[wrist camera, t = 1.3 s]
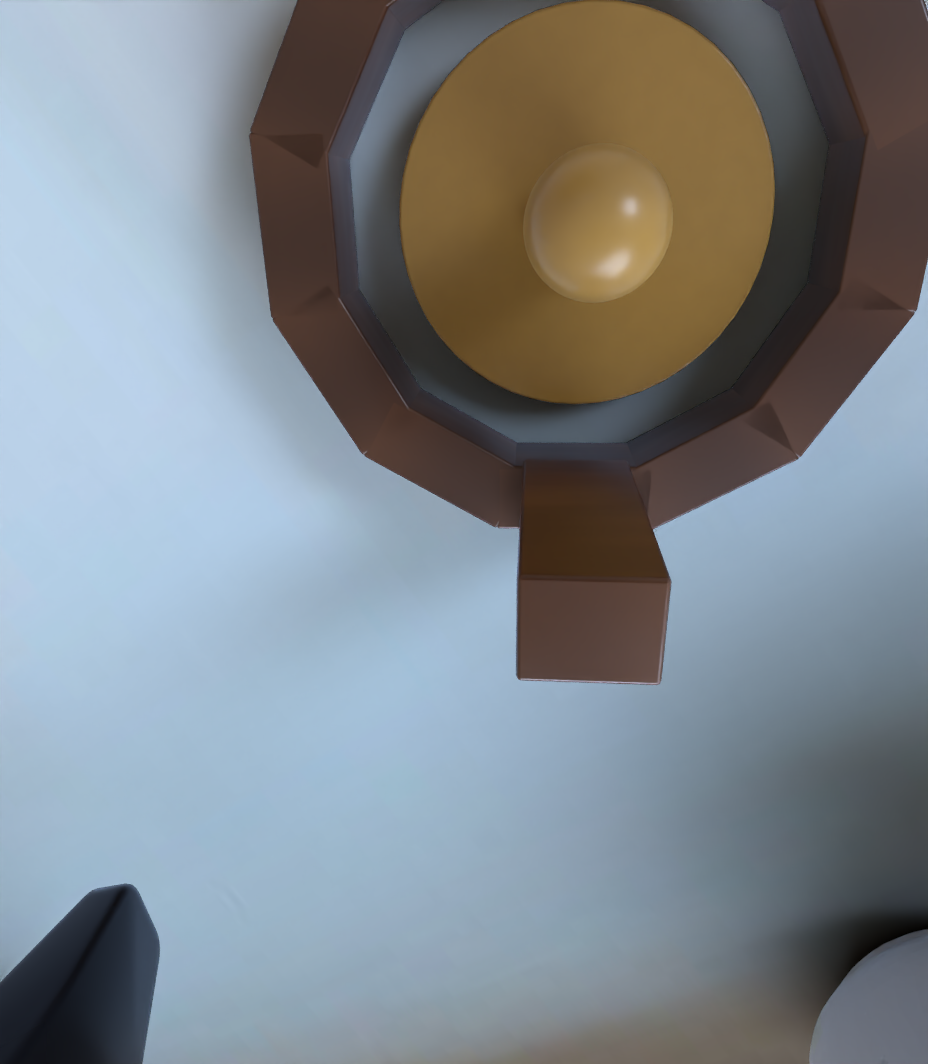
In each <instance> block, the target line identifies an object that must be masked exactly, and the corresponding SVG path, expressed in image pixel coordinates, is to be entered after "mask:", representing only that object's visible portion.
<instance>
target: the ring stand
mask: <svg viewBox="0 0 928 1064" xmlns="http://www.w3.org/2000/svg"><path fill="white" fill-rule="evenodd" d="M774 200H775V178H774V162H773V157H772V151H771V146H770V141H769V136H768V133H767V130H766V127H765V124H764V121H763V118H762V114H761V111H760V109H759V107H758V105H757V103H756V101H755V99H754V97H753V95H752V93H751V91H750V89H749V87H748V85H747V84H746V82H745V81H744V79H743V78H742V76H741V75H740V73H739V72H738V70H737V69H736V68H735V66H734V65H733V63H732V62H731V61H730V60H729V59H728V58H727V57H726V56H725V55H724V54H723V53H722V51H721V50H720V49H719V48H718V47H717V46H716V45H715V44H714V43H713V42H711V41H710V40H709V39H708V38H706V37H705V36H704V35H703V34H701V33H700V32H699V31H697V30H696V29H695V28H694V27H692V26H690V25H688V24H687V23H685V22H683V21H681V20H679V19H678V18H676V17H674V16H672V15H670V14H668V13H665V12H663V11H660V10H657V9H654V8H651V7H649V6H646V5H642V4H637V3H632V2H626V1H621V0H579V1H572V2H564V3H560V4H557V5H553V6H550V7H546V8H542V9H539V10H536V11H534V12H532V13H529V14H527V15H525V16H523V17H521V18H518V19H516V20H514V21H512V22H510V23H509V24H507V25H505V26H504V27H502V28H501V29H499V30H497V31H496V32H494V33H493V34H491V35H490V36H488V37H487V38H486V39H484V40H483V41H482V42H481V43H480V44H479V45H477V46H476V47H475V48H474V49H473V50H471V51H470V52H469V53H468V54H467V55H466V56H465V57H464V58H463V59H462V60H461V61H460V62H459V64H458V65H457V66H456V67H455V68H454V69H453V70H452V71H451V72H450V73H449V74H448V76H447V77H446V79H445V80H444V81H443V83H442V84H441V86H440V87H439V89H438V90H437V91H436V93H435V94H434V96H433V97H432V99H431V101H430V103H429V104H428V106H427V108H426V110H425V112H424V114H423V116H422V118H421V120H420V121H419V124H418V126H417V129H416V132H415V134H414V137H413V139H412V142H411V145H410V147H409V151H408V155H407V159H406V163H405V167H404V171H403V176H402V184H401V192H400V199H399V229H400V238H401V246H402V253H403V257H404V262H405V266H406V270H407V274H408V277H409V280H410V283H411V286H412V288H413V291H414V294H415V296H416V299H417V301H418V303H419V305H420V307H421V309H422V310H423V312H424V314H425V316H426V318H427V320H428V321H429V323H430V324H431V326H432V327H433V329H434V330H435V332H436V333H437V334H438V336H439V337H440V339H441V340H442V341H443V342H444V343H445V344H446V345H447V347H448V348H449V349H450V350H451V351H452V352H453V353H454V354H455V355H456V356H457V357H458V358H459V359H460V360H461V361H462V362H464V363H465V364H466V365H467V366H468V367H469V368H471V369H472V370H473V371H475V372H476V373H478V374H479V375H481V376H482V377H484V378H485V379H487V380H488V381H490V382H491V383H493V384H495V385H498V386H500V387H502V388H504V389H506V390H508V391H510V392H512V393H515V394H518V395H521V396H524V397H527V398H530V399H535V400H540V401H545V402H550V403H560V404H590V403H600V402H605V401H610V400H616V399H620V398H623V397H626V396H629V395H633V394H636V393H639V392H642V391H644V390H646V389H648V388H650V387H652V386H654V385H657V384H659V383H661V382H663V381H665V380H666V379H668V378H669V377H671V376H673V375H674V374H676V373H677V372H679V371H681V370H682V369H684V368H685V367H686V366H687V365H689V364H690V363H691V362H692V361H694V360H695V359H696V358H697V357H699V356H700V355H701V354H702V353H703V352H704V351H705V350H706V349H707V348H708V347H709V346H710V345H711V344H712V343H713V342H714V341H715V340H716V339H717V338H718V337H719V336H720V335H721V334H722V332H723V331H724V330H725V328H726V327H727V326H728V325H729V323H730V322H731V321H732V320H733V318H734V317H735V316H736V314H737V312H738V311H739V309H740V307H741V306H742V304H743V302H744V301H745V299H746V298H747V296H748V294H749V292H750V290H751V288H752V286H753V283H754V281H755V279H756V277H757V275H758V273H759V270H760V268H761V264H762V261H763V258H764V255H765V252H766V249H767V246H768V242H769V237H770V232H771V227H772V221H773V214H774Z"/></svg>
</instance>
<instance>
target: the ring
mask: <svg viewBox="0 0 928 1064" xmlns="http://www.w3.org/2000/svg"><path fill="white" fill-rule="evenodd" d="M442 1H443V0H297V3H296V6H295V8H294V11H293V14H292V17H291V19H290V22H289V25H288V27H287V30H286V33H285V36H284V38H283V41H282V44H281V47H280V49H279V52H278V55H277V58H276V60H275V63H274V66H273V68H272V71H271V74H270V77H269V79H268V82H267V85H266V88H265V90H264V93H263V96H262V99H261V101H260V104H259V107H258V109H257V112H256V115H255V118H254V120H253V123H252V126H251V129H250V132H251V133H250V134H249V139H250V147H251V155H252V163H253V172H254V180H255V188H256V196H257V204H258V213H259V221H260V229H261V237H262V245H263V254H264V262H265V270H266V278H267V287H268V295H269V303H270V311H271V317H272V318H273V322H274V323H275V325H276V326H277V328H278V329H279V331H280V332H281V333H282V335H283V336H284V338H285V339H286V341H287V342H288V344H289V345H290V347H291V348H292V350H293V351H294V353H295V354H296V356H297V357H298V359H299V360H300V362H301V363H302V365H303V366H304V368H305V369H306V371H307V372H308V374H309V375H310V377H311V378H312V380H313V381H314V383H315V384H316V386H317V387H318V389H319V390H320V392H321V393H322V395H323V396H324V398H325V399H326V401H327V402H328V404H329V405H330V407H331V408H332V410H333V411H334V413H335V414H336V416H337V417H338V419H339V420H340V422H341V423H342V425H343V426H344V428H345V429H346V431H347V432H348V434H349V435H350V437H351V438H352V440H353V441H354V443H355V444H356V446H357V447H358V449H359V450H360V452H361V453H362V454H364V456H366V457H367V458H369V459H371V460H373V461H374V462H376V463H378V464H380V465H382V466H384V467H385V468H387V469H389V470H391V471H393V472H395V473H396V474H398V475H400V476H402V477H404V478H406V479H407V480H409V481H411V482H413V483H415V484H417V485H418V486H420V487H422V488H424V489H426V490H428V491H429V492H431V493H433V494H435V495H437V496H439V497H440V498H442V499H444V500H446V501H448V502H450V503H451V504H453V505H455V506H457V507H459V508H461V509H462V510H464V511H466V512H468V513H470V514H472V515H473V516H475V517H477V518H479V519H481V520H483V521H484V522H486V523H488V524H490V525H492V526H494V527H498V528H520V529H519V548H518V566H517V627H516V676H517V678H518V679H519V680H529V681H558V682H587V683H617V684H646V685H658V684H660V682H661V679H662V669H663V660H664V650H665V640H666V630H667V620H668V610H669V601H670V591H671V579H670V576H669V573H668V571H667V568H666V565H665V562H664V560H663V557H662V554H661V551H660V549H659V546H658V543H657V540H656V538H655V535H654V532H653V529H654V528H657V527H659V526H661V525H663V524H665V523H667V522H669V521H671V520H673V519H675V518H677V517H679V516H681V515H683V514H686V513H688V512H690V511H692V510H694V509H696V508H698V507H700V506H702V505H704V504H706V503H708V502H710V501H712V500H715V499H717V498H719V497H721V496H723V495H725V494H727V493H729V492H731V491H733V490H735V489H737V488H739V487H741V486H744V485H746V484H748V483H750V482H752V481H754V480H756V479H758V478H760V477H762V476H764V475H766V474H768V473H770V472H773V471H775V470H777V469H779V468H781V467H783V466H785V465H787V464H789V463H791V462H793V461H795V460H797V459H798V457H801V456H802V454H803V453H804V452H805V451H806V449H807V448H808V447H809V446H810V444H811V443H812V442H813V441H814V439H815V438H816V437H817V436H818V434H819V433H820V432H821V431H822V429H823V428H824V427H825V425H826V424H827V423H828V422H829V420H830V419H831V418H832V417H833V415H834V414H835V413H836V412H837V410H838V409H839V408H840V407H841V405H842V404H843V403H844V402H845V400H846V399H847V398H848V397H849V395H850V394H851V393H852V392H853V390H854V389H855V388H856V387H857V385H858V384H859V383H860V382H861V380H862V379H863V378H864V377H865V375H866V374H867V373H868V371H869V370H870V369H871V368H872V366H873V365H874V364H875V363H876V361H877V360H878V359H879V358H880V356H881V355H882V354H883V353H884V351H885V350H886V349H887V348H888V346H889V345H890V344H891V343H892V341H893V340H894V339H895V338H896V336H897V335H898V334H899V333H900V331H901V330H902V329H903V328H904V326H905V325H906V324H907V323H908V321H909V320H910V319H911V317H912V316H913V315H914V313H915V312H914V311H916V310H917V306H918V302H919V297H920V293H921V288H922V283H923V279H924V274H925V269H926V265H927V260H928V11H927V8H926V5H925V2H924V0H762V1H763V2H765V3H766V4H768V5H769V6H771V7H772V8H774V9H775V10H777V11H778V12H779V14H780V16H781V19H782V21H783V24H784V27H785V29H786V32H787V35H788V37H789V40H790V42H791V45H792V48H793V50H794V53H795V55H796V58H797V61H798V63H799V66H800V68H801V71H802V74H803V76H804V79H805V82H806V84H807V87H808V89H809V92H810V95H811V97H812V100H813V102H814V105H815V108H816V110H817V113H818V115H819V118H820V121H821V123H822V126H823V128H824V131H825V134H826V136H827V139H828V142H829V148H828V155H827V161H826V167H825V174H824V180H823V187H822V193H821V199H820V206H819V212H818V219H817V225H816V231H815V238H814V244H813V251H812V257H811V263H810V270H809V276H808V283H807V284H806V286H805V287H804V289H803V290H802V291H801V293H800V294H799V295H798V297H797V298H796V300H795V301H794V302H793V304H792V305H791V307H790V308H789V309H788V311H787V312H786V314H785V315H784V316H783V318H782V319H781V320H780V322H779V323H778V325H777V326H776V327H775V329H774V330H773V332H772V333H771V334H770V336H769V337H768V339H767V340H766V341H765V343H764V344H763V345H762V347H761V348H760V350H759V351H758V352H757V354H756V355H755V357H754V358H753V359H752V361H751V362H750V364H749V365H748V366H747V368H746V369H745V370H744V372H743V373H742V375H741V376H740V377H739V379H738V380H737V382H736V383H735V384H734V386H733V387H732V388H731V389H729V390H727V391H725V392H723V393H721V394H719V395H717V396H715V397H714V398H712V399H710V400H708V401H706V402H704V403H702V404H700V405H698V406H696V407H694V408H693V409H691V410H689V411H687V412H685V413H683V414H681V415H679V416H677V417H675V418H673V419H672V420H670V421H668V422H666V423H664V424H662V425H660V426H658V427H656V428H654V429H652V430H651V431H649V432H647V433H645V434H643V435H641V436H639V437H637V438H635V439H633V440H631V441H630V442H628V443H517V442H515V441H513V440H511V439H509V438H508V437H506V436H504V435H502V434H501V433H499V432H497V431H495V430H494V429H492V428H490V427H488V426H486V425H485V424H483V423H481V422H479V421H478V420H476V419H474V418H472V417H470V416H469V415H467V414H465V413H463V412H462V411H460V410H458V409H456V408H454V407H453V406H451V405H449V404H447V403H446V402H444V401H442V400H440V399H438V398H437V397H435V396H433V395H431V394H430V393H428V392H426V391H424V390H422V389H421V388H420V386H419V384H418V383H417V381H416V380H415V378H414V376H413V375H412V373H411V372H410V370H409V368H408V367H407V365H406V364H405V362H404V360H403V359H402V357H401V355H400V354H399V352H398V351H397V349H396V347H395V346H394V344H393V343H392V341H391V339H390V338H389V336H388V335H387V333H386V331H385V330H384V328H383V327H382V325H381V323H380V322H379V320H378V318H377V317H376V315H375V314H374V312H373V310H372V309H371V307H370V306H369V304H368V302H367V301H366V299H365V298H364V296H363V294H362V293H361V291H360V289H359V278H358V264H357V251H356V238H355V224H354V211H353V198H352V184H351V171H350V157H351V155H352V153H353V150H354V148H355V146H356V143H357V141H358V138H359V136H360V134H361V131H362V129H363V127H364V124H365V122H366V120H367V117H368V115H369V113H370V110H371V108H372V106H373V103H374V101H375V98H376V96H377V94H378V91H379V89H380V87H381V84H382V82H383V80H384V77H385V75H386V73H387V70H388V68H389V66H390V63H391V61H392V59H393V56H394V54H395V51H396V49H397V47H398V44H399V42H400V40H401V37H402V35H403V33H404V30H405V29H406V28H408V27H409V26H410V25H411V24H413V23H414V22H415V21H417V20H418V19H419V18H421V17H422V16H423V15H425V14H426V13H427V12H428V11H430V10H431V9H432V8H434V7H435V6H436V5H438V4H439V3H440V2H442Z"/></svg>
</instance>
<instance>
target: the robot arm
mask: <svg viewBox="0 0 928 1064" xmlns="http://www.w3.org/2000/svg"><path fill="white" fill-rule="evenodd" d="M159 955H160V945H159V938H158V934H157V931H156V929H155V927H154V925H153V922H152V920H151V918H150V916H149V914H148V911H147V909H146V907H145V905H144V903H143V900H142V898H141V896H140V894H139V892H138V890H137V889H136V888H135V887H134V886H133V885H131V884H120V885H114V886H109V887H103V888H97V889H95V890H92V891H91V892H89V893H88V894H87V895H86V896H85V897H84V898H83V899H82V900H81V901H80V902H79V903H78V904H77V905H76V906H75V907H74V908H73V909H72V910H71V911H70V912H69V913H68V914H67V915H66V916H65V917H64V918H63V919H62V920H61V921H60V922H59V923H58V924H57V925H56V926H55V927H54V928H53V929H52V930H51V931H50V932H49V933H48V934H47V935H46V936H45V937H44V938H43V939H42V940H41V941H40V942H39V943H38V944H37V945H36V946H35V947H34V948H33V950H32V951H31V952H30V953H29V954H28V955H27V956H26V957H25V958H24V959H23V960H22V961H21V962H20V963H19V964H18V965H17V966H16V967H15V968H14V969H13V970H12V971H11V972H10V973H9V974H8V975H7V976H6V977H5V978H4V979H3V980H2V981H1V982H0V1064H142V1061H143V1055H144V1049H145V1043H146V1037H147V1031H148V1024H149V1018H150V1012H151V1006H152V1000H153V994H154V987H155V981H156V975H157V969H158V963H159Z"/></svg>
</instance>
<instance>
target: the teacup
mask: <svg viewBox="0 0 928 1064" xmlns="http://www.w3.org/2000/svg"><path fill="white" fill-rule="evenodd" d="M809 1058H810V1064H928V929H925V930H920V931H916V932H912V933H908V934H906V935H904V936H901V937H899V938H896V939H894V940H891V941H889V942H887V943H884V944H883V945H881V946H880V947H878V948H876V949H875V950H873V951H872V952H870V953H869V954H868V955H867V956H865V957H864V958H863V959H861V960H860V961H859V962H858V963H857V964H856V965H855V966H854V967H853V968H852V969H851V970H850V972H849V973H848V974H847V975H846V977H845V978H844V979H843V981H842V983H841V984H840V985H839V986H838V988H837V989H836V990H835V992H834V993H833V994H832V995H831V997H830V998H829V1000H828V1001H827V1003H826V1004H825V1006H824V1007H823V1009H822V1011H821V1013H820V1015H819V1018H818V1020H817V1023H816V1025H815V1029H814V1032H813V1036H812V1041H811V1048H810V1056H809Z"/></svg>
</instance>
